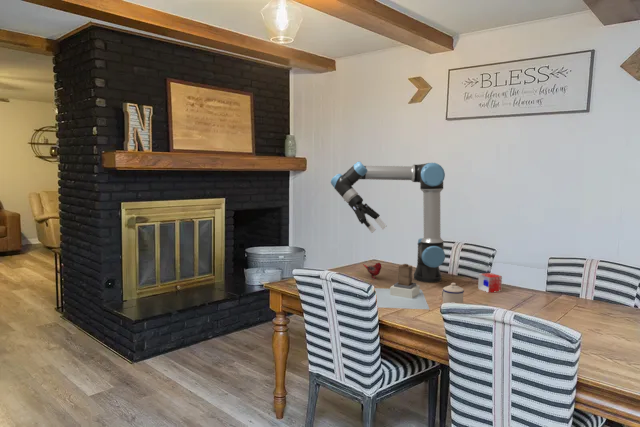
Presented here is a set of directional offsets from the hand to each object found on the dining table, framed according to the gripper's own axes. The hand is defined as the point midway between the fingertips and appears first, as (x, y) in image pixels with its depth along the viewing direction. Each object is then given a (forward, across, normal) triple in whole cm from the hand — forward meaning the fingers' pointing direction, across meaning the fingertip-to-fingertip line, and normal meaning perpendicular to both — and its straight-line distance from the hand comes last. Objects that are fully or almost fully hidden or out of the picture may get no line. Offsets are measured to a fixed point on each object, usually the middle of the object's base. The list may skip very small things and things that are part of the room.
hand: (379, 229), depth 239 cm
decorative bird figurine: (+13, -19, -31) cm, 38 cm away
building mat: (+33, +13, -10) cm, 37 cm away
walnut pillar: (+30, +5, -7) cm, 31 cm away
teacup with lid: (+51, +13, +6) cm, 53 cm away
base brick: (+33, +5, -10) cm, 35 cm away
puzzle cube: (+57, -27, +12) cm, 65 cm away
